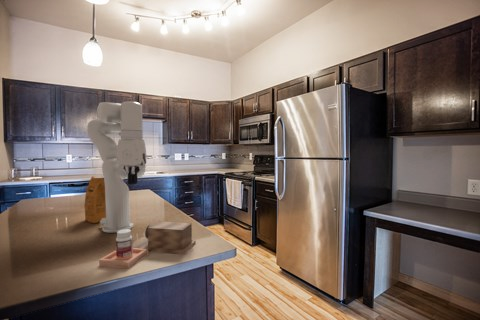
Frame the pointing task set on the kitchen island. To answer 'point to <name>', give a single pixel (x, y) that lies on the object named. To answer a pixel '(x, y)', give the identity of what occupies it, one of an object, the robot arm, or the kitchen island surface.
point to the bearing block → (167, 238)
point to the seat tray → (112, 261)
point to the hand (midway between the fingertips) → (132, 183)
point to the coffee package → (95, 200)
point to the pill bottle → (124, 244)
